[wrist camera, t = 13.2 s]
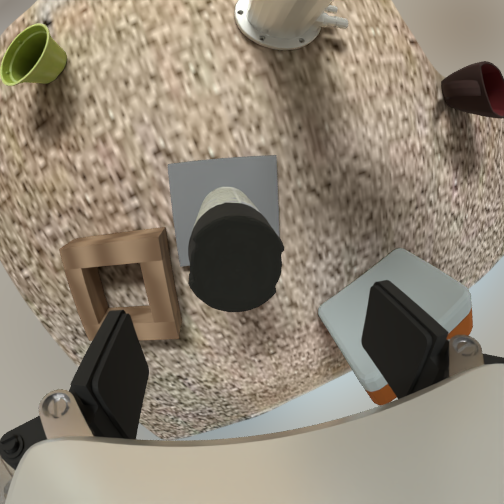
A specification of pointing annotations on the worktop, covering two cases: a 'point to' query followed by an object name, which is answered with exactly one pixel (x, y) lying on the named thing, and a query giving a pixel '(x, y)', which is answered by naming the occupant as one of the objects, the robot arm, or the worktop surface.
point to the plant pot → (32, 58)
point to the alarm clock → (414, 286)
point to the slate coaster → (215, 176)
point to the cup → (476, 90)
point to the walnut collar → (115, 253)
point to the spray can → (233, 253)
